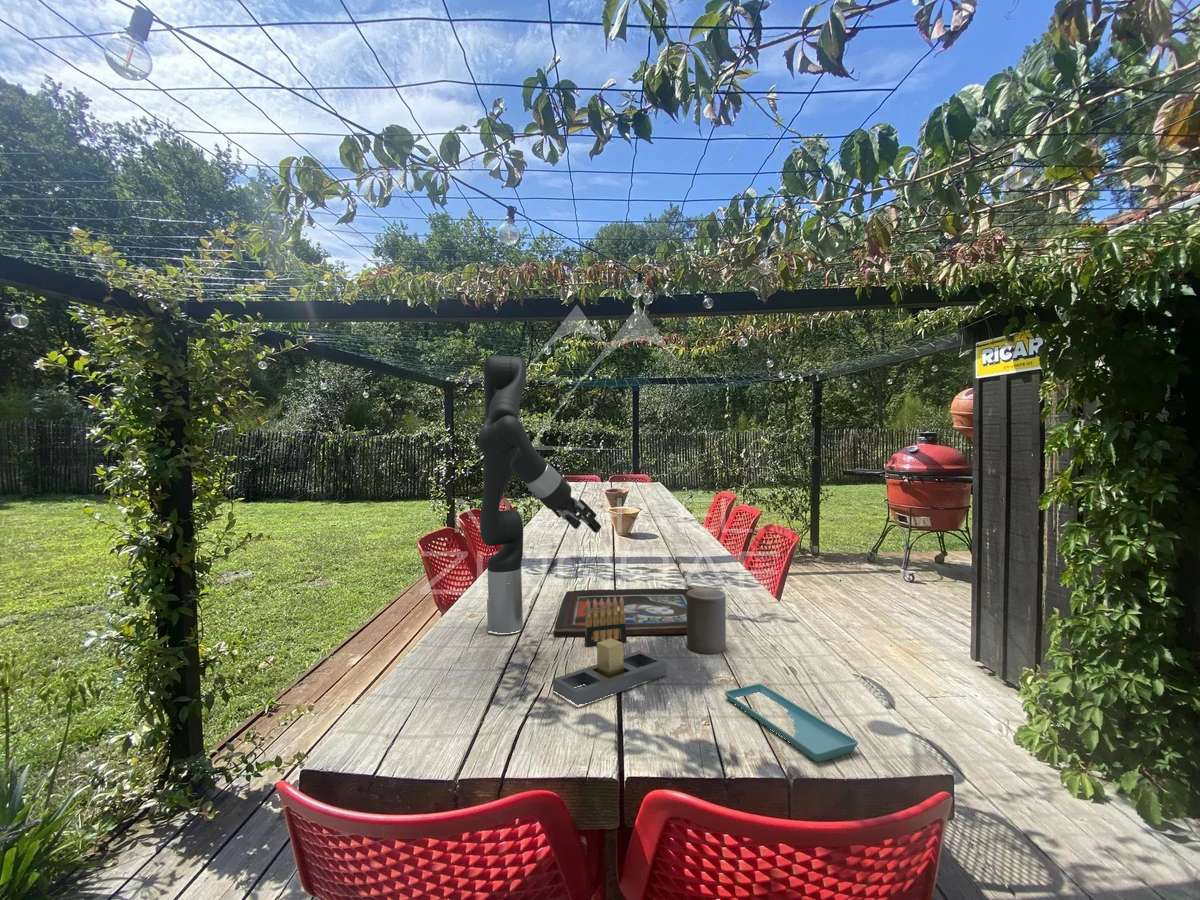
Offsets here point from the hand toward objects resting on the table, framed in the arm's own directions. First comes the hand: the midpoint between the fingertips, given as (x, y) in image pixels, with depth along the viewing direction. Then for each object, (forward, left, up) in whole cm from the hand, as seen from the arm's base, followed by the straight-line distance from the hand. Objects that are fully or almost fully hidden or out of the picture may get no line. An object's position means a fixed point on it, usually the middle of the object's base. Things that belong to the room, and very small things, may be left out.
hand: (588, 527), depth 145 cm
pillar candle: (+29, -1, -31) cm, 42 cm away
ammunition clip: (+4, +4, -31) cm, 31 cm away
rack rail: (+4, -20, -31) cm, 37 cm away
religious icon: (+14, +28, -31) cm, 45 cm away
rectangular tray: (+35, -40, -31) cm, 61 cm away
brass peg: (+4, -20, -31) cm, 37 cm away
